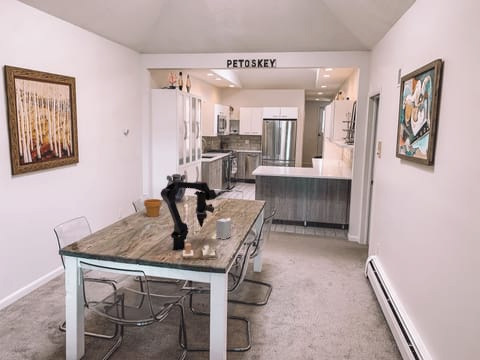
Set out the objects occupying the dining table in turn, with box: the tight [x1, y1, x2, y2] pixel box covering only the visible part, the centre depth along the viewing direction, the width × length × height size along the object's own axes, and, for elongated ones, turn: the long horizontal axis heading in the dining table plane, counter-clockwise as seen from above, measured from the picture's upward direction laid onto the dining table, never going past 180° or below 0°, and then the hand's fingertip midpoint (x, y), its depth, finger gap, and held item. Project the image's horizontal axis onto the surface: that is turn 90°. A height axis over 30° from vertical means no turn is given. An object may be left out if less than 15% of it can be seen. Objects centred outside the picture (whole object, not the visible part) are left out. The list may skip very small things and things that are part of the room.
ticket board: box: [184, 249, 218, 261], centre depth 205 cm, size 18×12×2 cm, turn 99°
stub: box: [182, 243, 194, 258], centre depth 203 cm, size 6×9×6 cm, turn 9°
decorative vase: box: [166, 173, 187, 204], centre depth 351 cm, size 21×19×28 cm
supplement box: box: [215, 218, 232, 239], centre depth 240 cm, size 7×7×13 cm
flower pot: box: [143, 198, 163, 218], centre depth 294 cm, size 14×14×13 cm
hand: (200, 225), depth 227 cm, fingers open, 9 cm apart
